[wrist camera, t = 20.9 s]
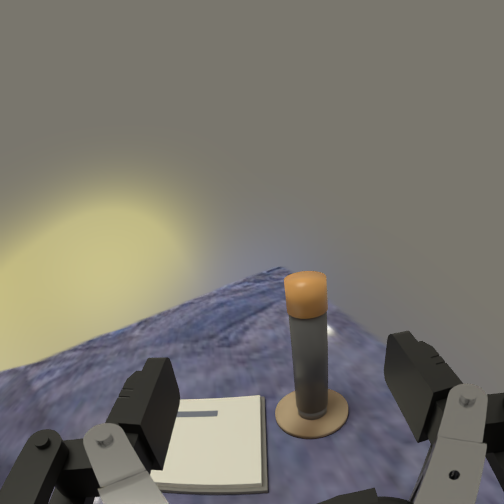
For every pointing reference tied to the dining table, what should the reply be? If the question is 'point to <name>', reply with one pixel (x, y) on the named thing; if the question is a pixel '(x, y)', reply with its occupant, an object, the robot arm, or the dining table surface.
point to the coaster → (311, 428)
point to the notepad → (216, 448)
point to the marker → (309, 341)
